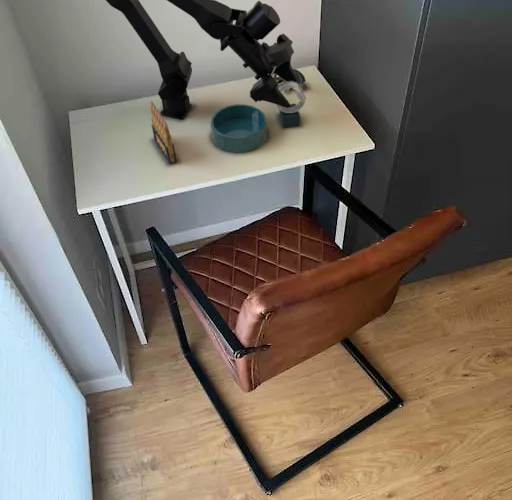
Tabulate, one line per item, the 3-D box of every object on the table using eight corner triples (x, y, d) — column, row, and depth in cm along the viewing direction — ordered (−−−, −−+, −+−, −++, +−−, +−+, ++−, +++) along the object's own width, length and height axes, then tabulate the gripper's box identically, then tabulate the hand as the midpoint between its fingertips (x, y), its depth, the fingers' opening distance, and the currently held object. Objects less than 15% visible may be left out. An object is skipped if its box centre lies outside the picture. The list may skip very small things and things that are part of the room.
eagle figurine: (273, 94, 156) (306, 89, 154) (269, 67, 154) (303, 61, 153) (277, 94, 163) (308, 88, 162) (273, 67, 162) (305, 62, 160)
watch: (307, 125, 149) (308, 88, 141) (276, 129, 148) (276, 92, 140) (302, 112, 152) (303, 75, 144) (272, 116, 152) (272, 79, 143)
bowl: (203, 145, 145) (201, 131, 141) (225, 114, 153) (224, 99, 149) (254, 157, 141) (253, 143, 138) (274, 125, 149) (274, 110, 146)
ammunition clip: (154, 140, 147) (146, 100, 138) (161, 138, 147) (153, 97, 138) (169, 164, 140) (162, 124, 131) (176, 162, 141) (169, 121, 132)
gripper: (261, 51, 127) (308, 101, 133) (283, 11, 139) (325, 59, 145) (230, 78, 135) (275, 124, 141) (253, 38, 146) (294, 82, 152)
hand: (294, 96), depth 144 cm, fingers open, 9 cm apart
